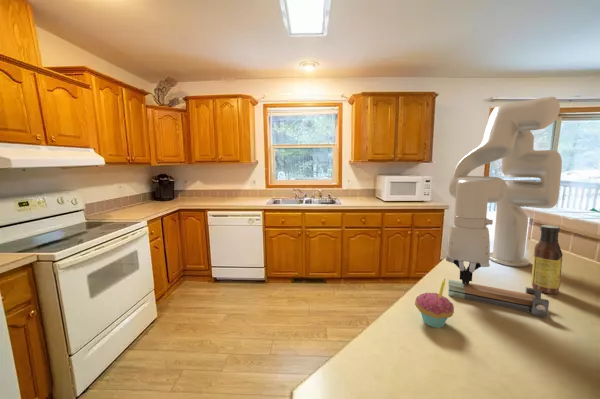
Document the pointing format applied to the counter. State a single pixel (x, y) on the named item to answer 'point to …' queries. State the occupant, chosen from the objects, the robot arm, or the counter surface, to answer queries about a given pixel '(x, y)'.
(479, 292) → the bar
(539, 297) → the base
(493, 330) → the counter surface
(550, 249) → the sauce bottle
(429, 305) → the cupcake
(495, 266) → the counter surface
